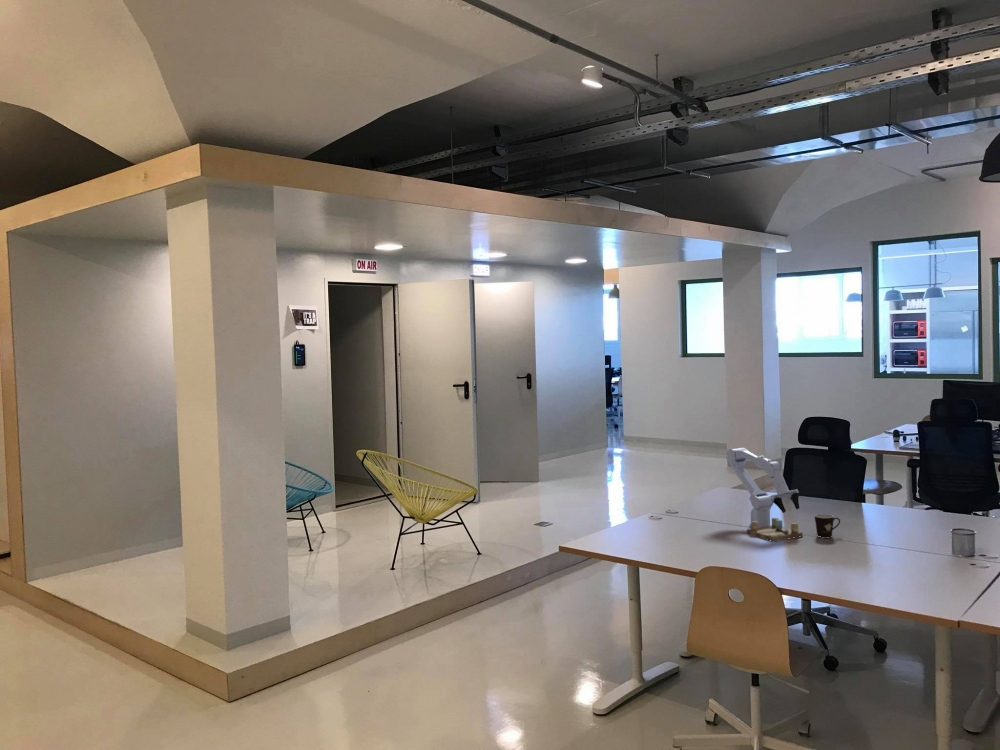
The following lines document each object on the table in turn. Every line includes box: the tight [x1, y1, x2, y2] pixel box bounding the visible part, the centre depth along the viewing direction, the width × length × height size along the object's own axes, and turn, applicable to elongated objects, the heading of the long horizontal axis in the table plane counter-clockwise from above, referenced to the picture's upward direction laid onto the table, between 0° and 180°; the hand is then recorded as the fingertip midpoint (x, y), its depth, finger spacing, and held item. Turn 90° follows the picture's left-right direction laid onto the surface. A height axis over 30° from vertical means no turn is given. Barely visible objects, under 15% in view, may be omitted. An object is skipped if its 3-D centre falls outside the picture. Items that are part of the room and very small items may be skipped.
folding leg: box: [776, 519, 789, 533], centre depth 373 cm, size 10×3×4 cm, turn 5°
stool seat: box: [746, 517, 803, 542], centre depth 374 cm, size 18×18×6 cm
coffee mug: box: [814, 513, 841, 538], centre depth 368 cm, size 12×9×10 cm
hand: (791, 510), depth 374 cm, fingers open, 7 cm apart
